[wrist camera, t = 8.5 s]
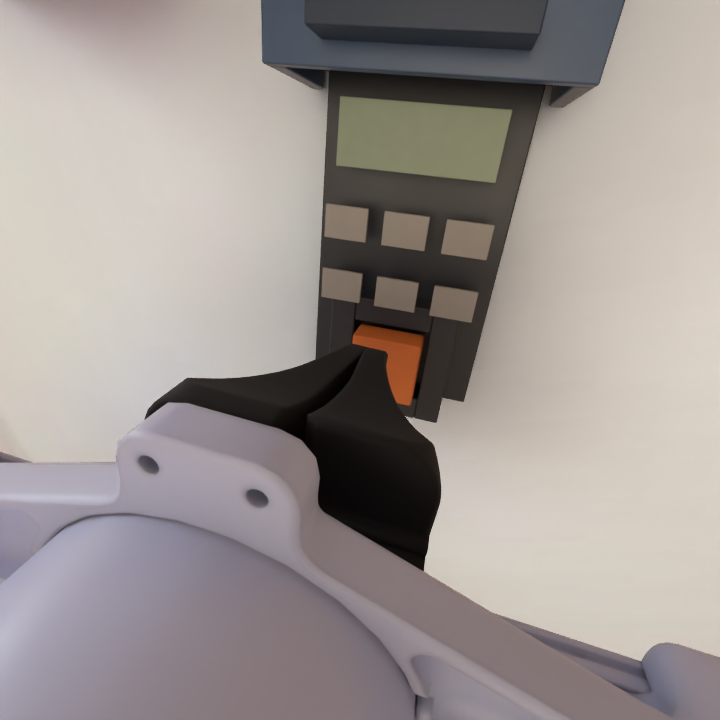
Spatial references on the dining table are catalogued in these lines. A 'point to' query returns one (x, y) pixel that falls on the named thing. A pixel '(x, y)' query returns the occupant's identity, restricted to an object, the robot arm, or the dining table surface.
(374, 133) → the keypad
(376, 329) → the on key
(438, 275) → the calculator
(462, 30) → the cover
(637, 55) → the dining table surface
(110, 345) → the dining table surface
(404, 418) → the robot arm
